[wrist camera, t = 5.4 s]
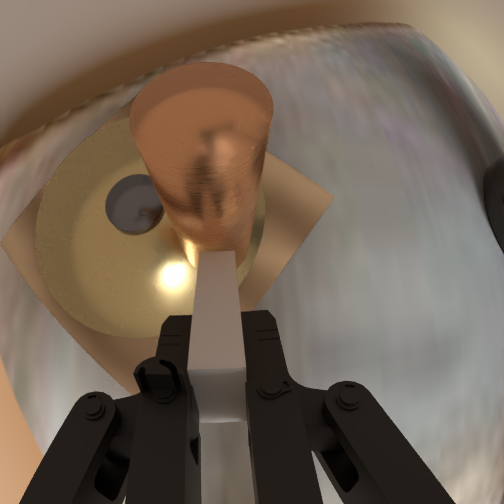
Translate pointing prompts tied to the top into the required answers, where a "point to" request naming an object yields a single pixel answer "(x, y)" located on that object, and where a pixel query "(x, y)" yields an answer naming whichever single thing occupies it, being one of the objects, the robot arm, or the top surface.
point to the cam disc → (157, 200)
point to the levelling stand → (250, 292)
